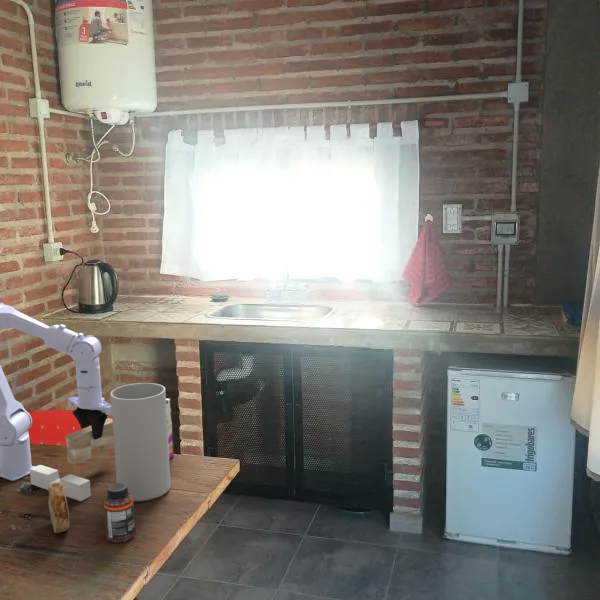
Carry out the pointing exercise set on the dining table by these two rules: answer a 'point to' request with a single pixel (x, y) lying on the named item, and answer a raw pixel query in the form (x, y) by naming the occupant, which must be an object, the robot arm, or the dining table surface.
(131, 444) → the cylinder vase
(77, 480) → the white building blocks
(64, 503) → the toasted sandwich
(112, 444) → the light wood plank
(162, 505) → the dining table surface
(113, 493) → the supplement bottle
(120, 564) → the dining table surface
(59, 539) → the dining table surface
